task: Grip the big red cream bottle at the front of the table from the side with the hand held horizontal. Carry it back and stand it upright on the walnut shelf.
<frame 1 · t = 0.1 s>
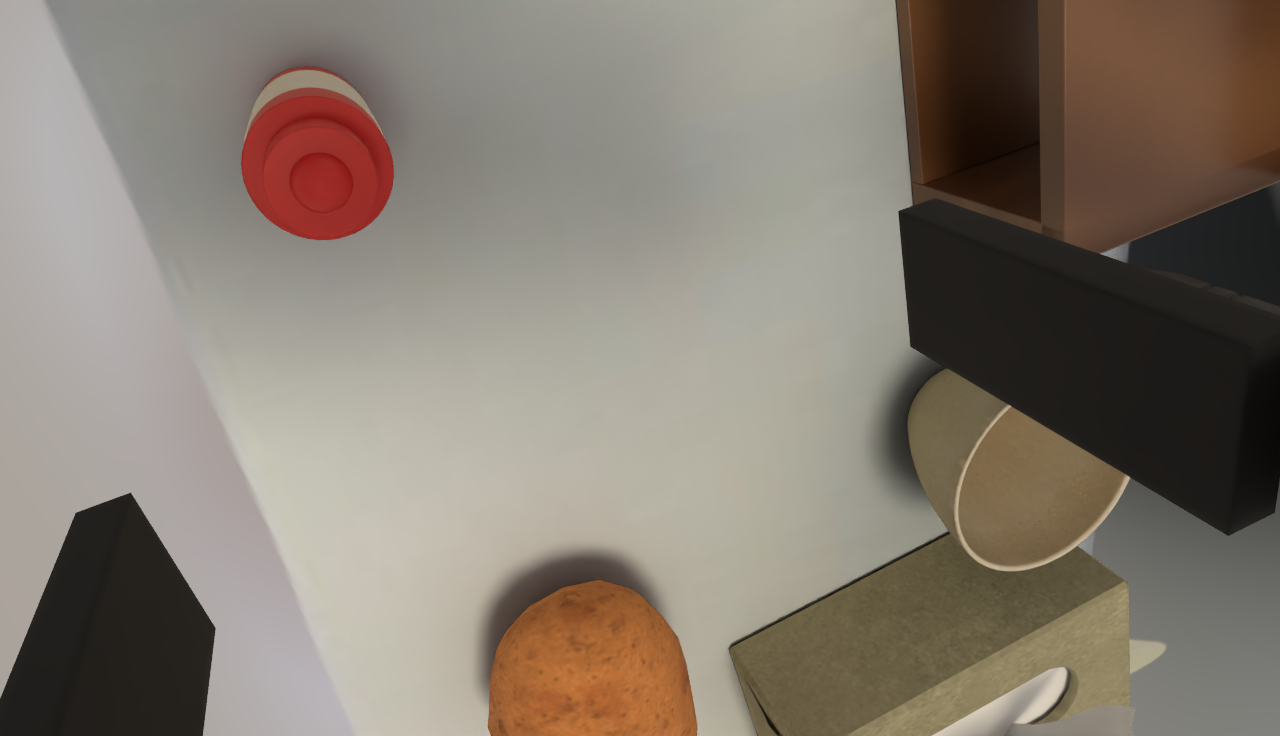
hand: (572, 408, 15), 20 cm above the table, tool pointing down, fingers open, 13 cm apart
potato: (567, 640, 42), on the table
red cream bottle: (313, 122, 30), on the table
tissue box: (885, 629, 50), on the table
beige bowl: (945, 407, 45), on the table
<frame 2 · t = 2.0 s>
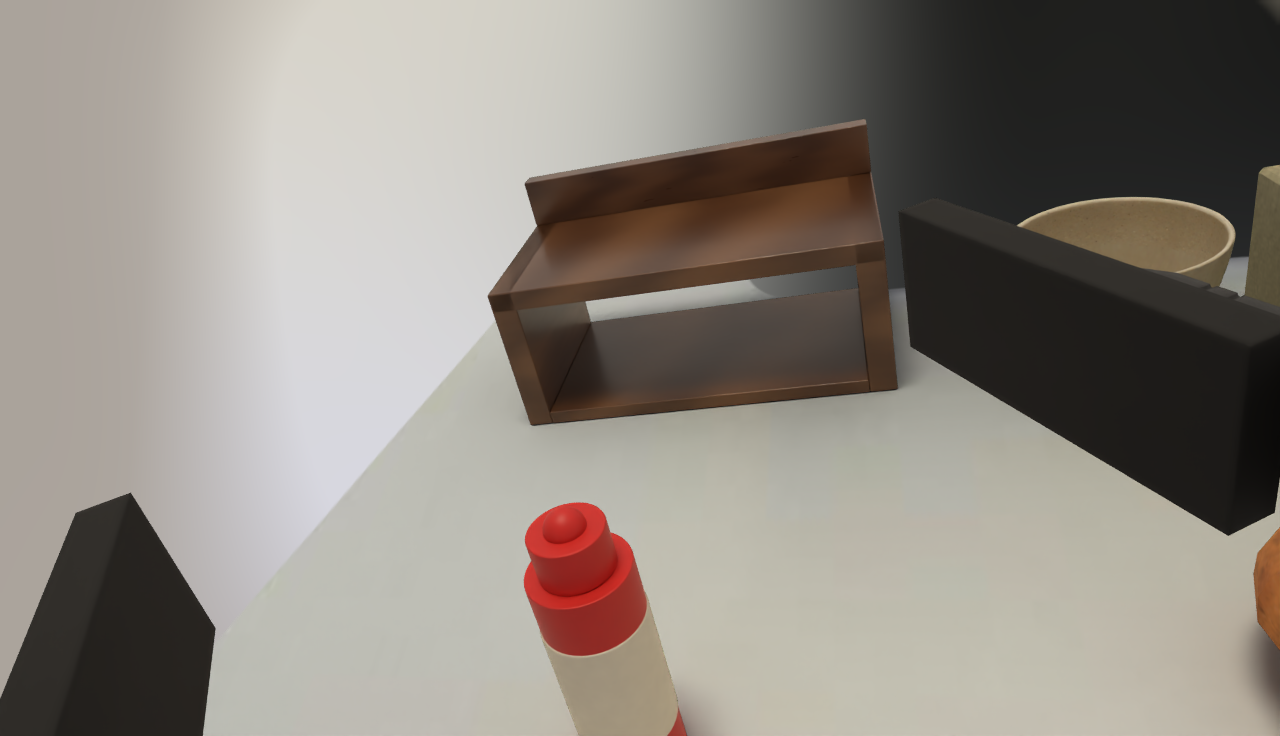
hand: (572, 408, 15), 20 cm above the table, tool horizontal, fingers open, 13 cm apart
shelf: (713, 357, 57), on the table
beige bowl: (1109, 361, 47), on the table
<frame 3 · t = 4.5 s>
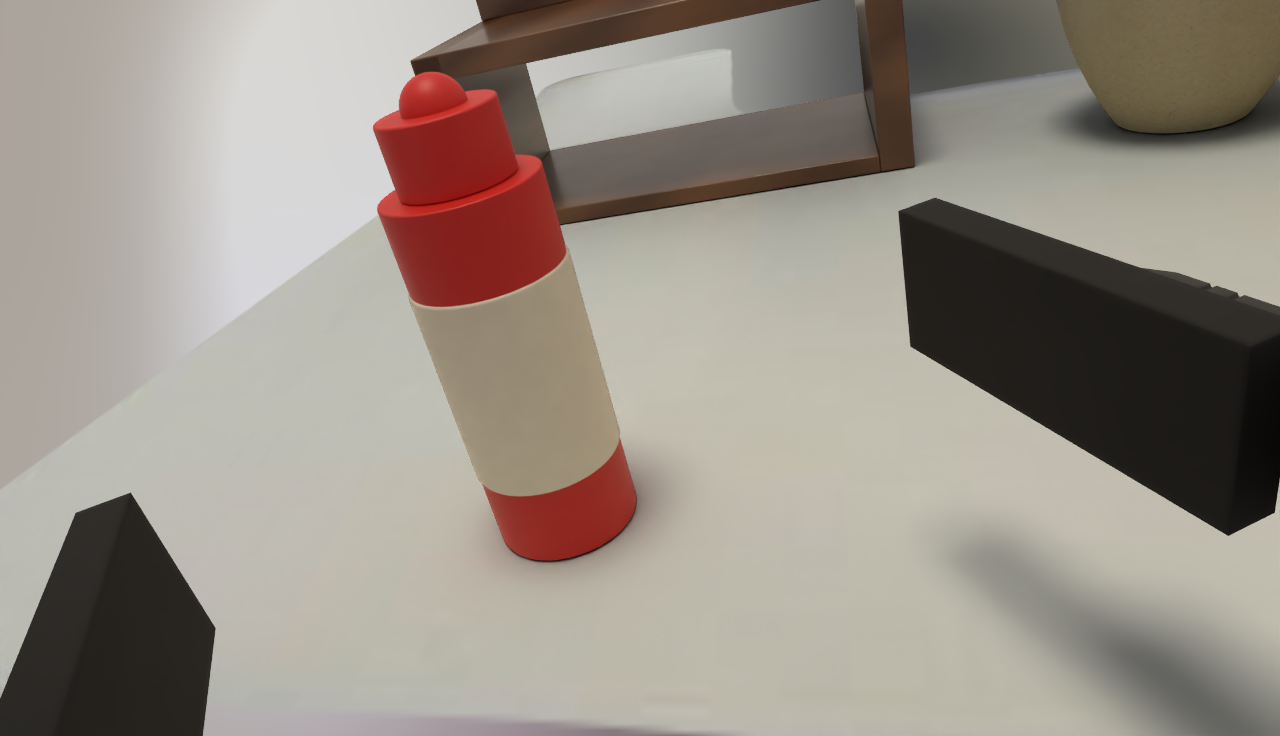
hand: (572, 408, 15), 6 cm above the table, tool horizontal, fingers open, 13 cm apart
shelf: (691, 166, 47), on the table
red cream bottle: (569, 513, 23), on the table
beige bowl: (1178, 120, 38), on the table
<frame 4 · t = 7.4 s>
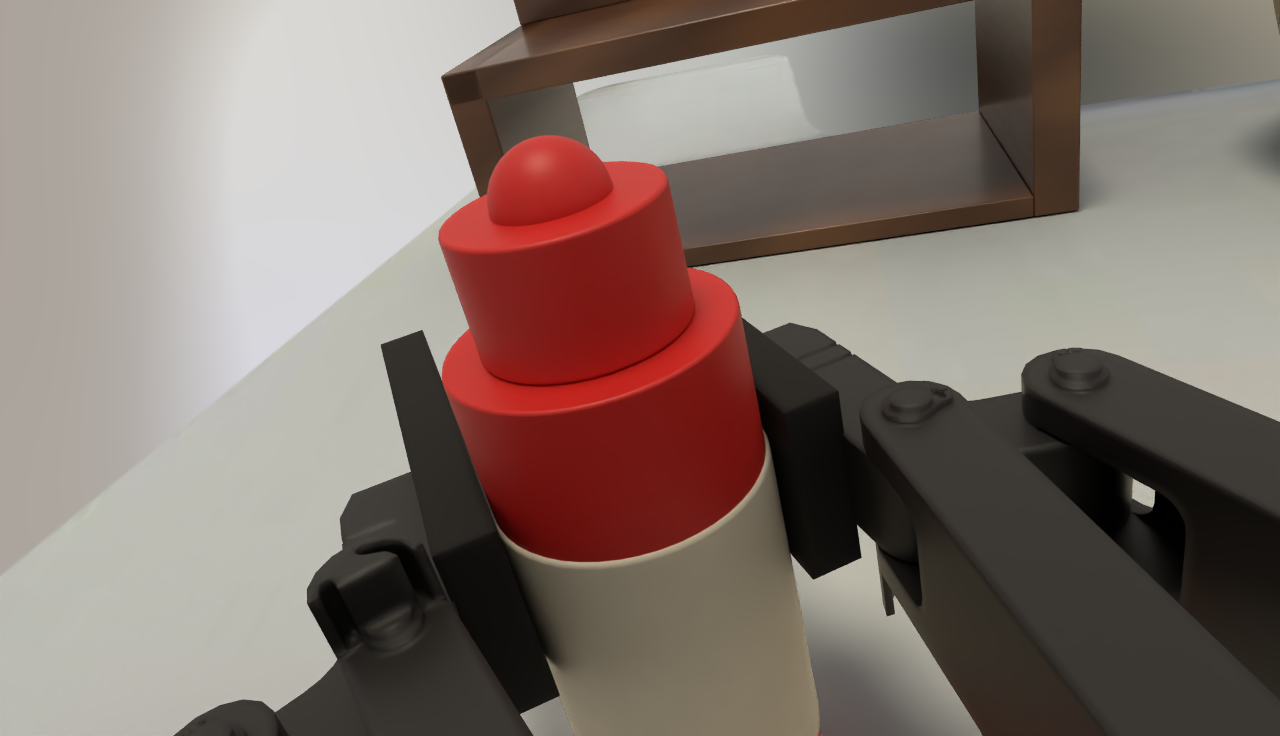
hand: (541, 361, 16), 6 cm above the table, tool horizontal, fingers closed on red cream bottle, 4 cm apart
shelf: (776, 201, 39), on the table
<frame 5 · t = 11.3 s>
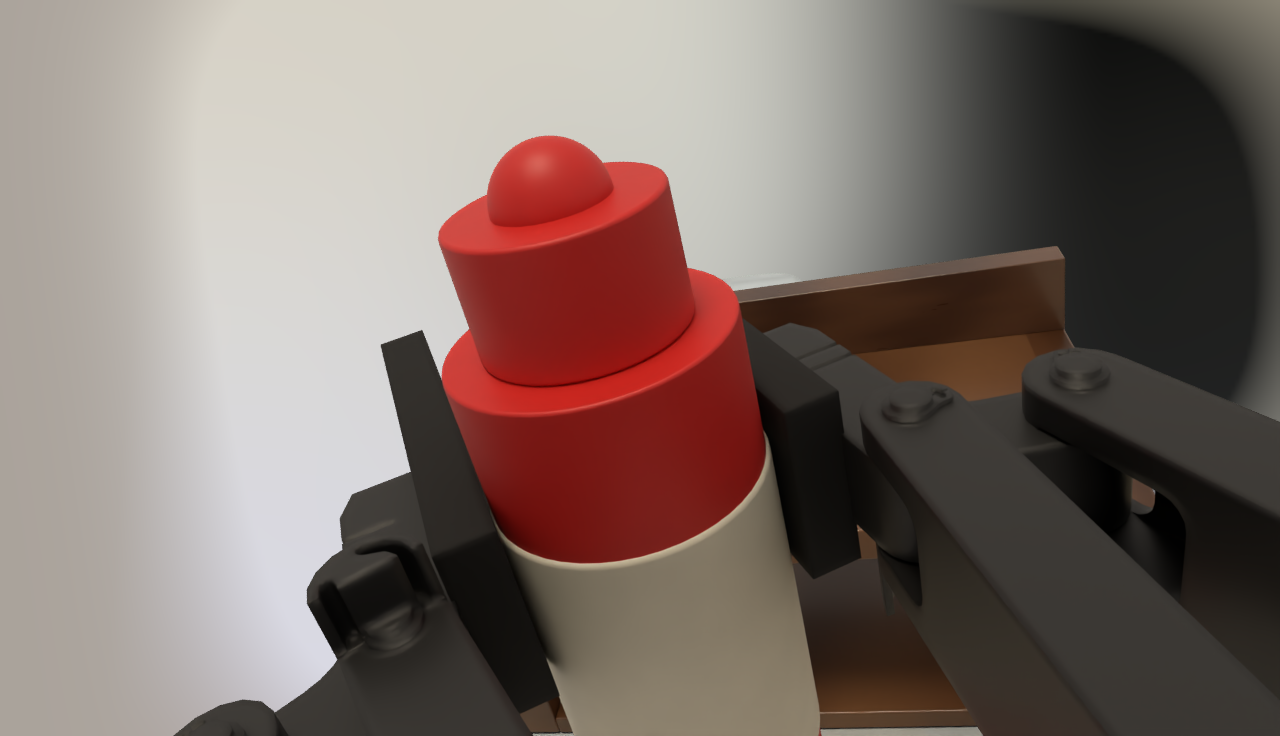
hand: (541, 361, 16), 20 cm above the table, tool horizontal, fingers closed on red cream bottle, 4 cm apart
shelf: (808, 606, 37), on the table
when the fingers open (15 cm above the table, at t = 15.5 s): red cream bottle stays where it is, resting on shelf.
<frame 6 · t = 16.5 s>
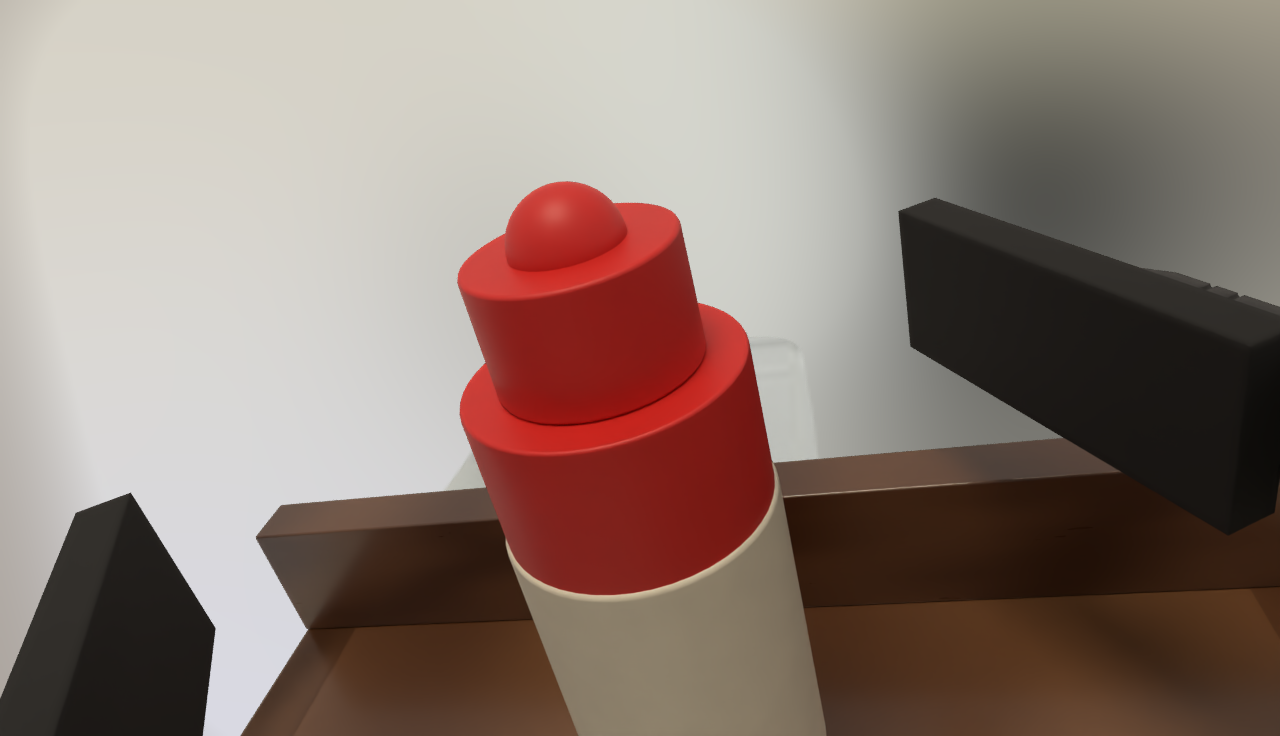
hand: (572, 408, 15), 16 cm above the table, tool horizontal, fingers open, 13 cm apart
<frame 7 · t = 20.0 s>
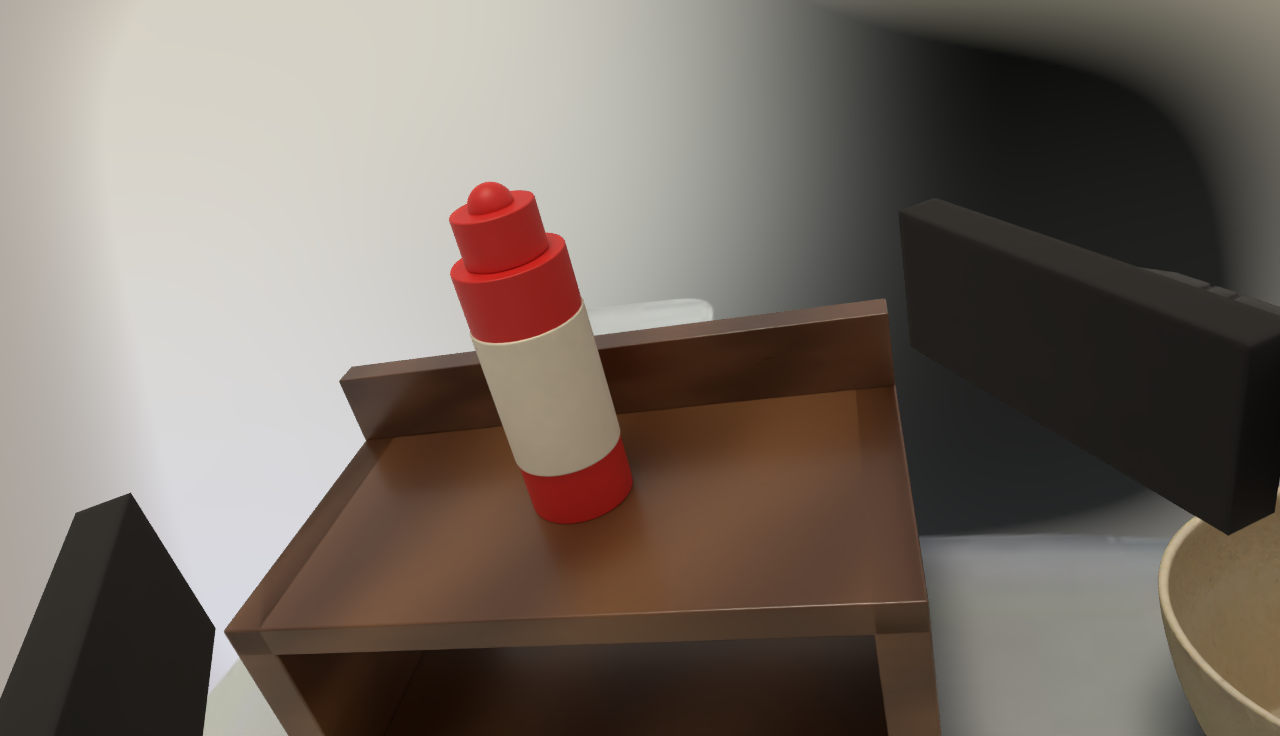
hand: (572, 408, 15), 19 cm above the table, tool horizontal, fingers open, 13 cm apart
shelf: (639, 668, 35), on the table
red cream bottle: (583, 490, 31), point 9 cm above the table, touching shelf
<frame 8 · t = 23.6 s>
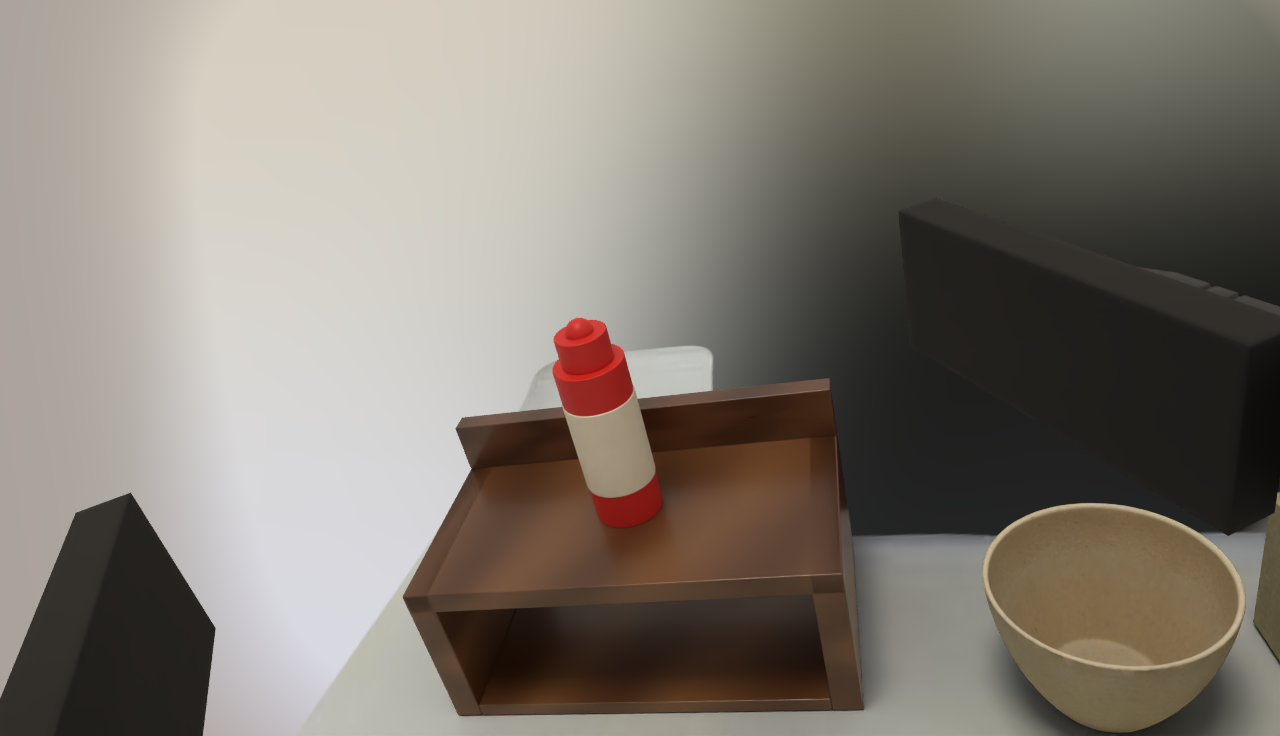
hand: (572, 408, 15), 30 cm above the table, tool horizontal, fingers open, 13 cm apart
shelf: (664, 626, 51), on the table
red cream bottle: (630, 505, 47), point 9 cm above the table, touching shelf
beige bowl: (1101, 691, 41), on the table
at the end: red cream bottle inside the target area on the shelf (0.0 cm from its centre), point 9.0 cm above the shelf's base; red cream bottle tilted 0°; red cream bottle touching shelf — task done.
